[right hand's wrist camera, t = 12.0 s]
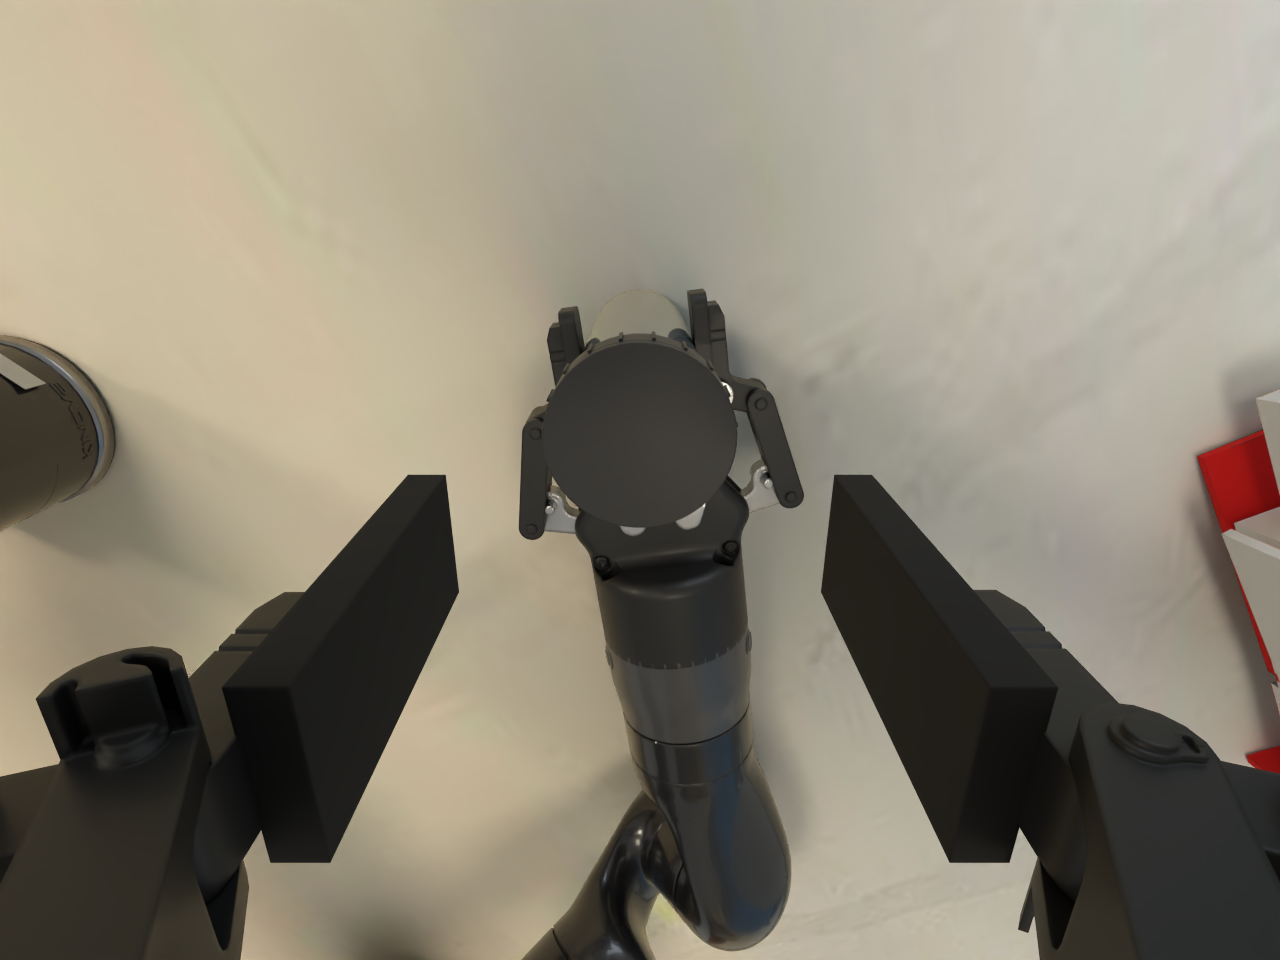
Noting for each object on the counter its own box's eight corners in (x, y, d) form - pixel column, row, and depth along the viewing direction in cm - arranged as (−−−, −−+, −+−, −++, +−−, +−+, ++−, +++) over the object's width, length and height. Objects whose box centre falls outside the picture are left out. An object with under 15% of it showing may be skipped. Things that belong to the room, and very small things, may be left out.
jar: (574, 341, 36) (523, 443, 20) (635, 268, 35) (631, 316, 19) (644, 401, 37) (647, 540, 22) (706, 332, 36) (757, 428, 20)
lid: (508, 432, 21) (499, 449, 20) (630, 288, 20) (629, 294, 18) (647, 541, 23) (647, 564, 21) (771, 415, 21) (780, 430, 20)
